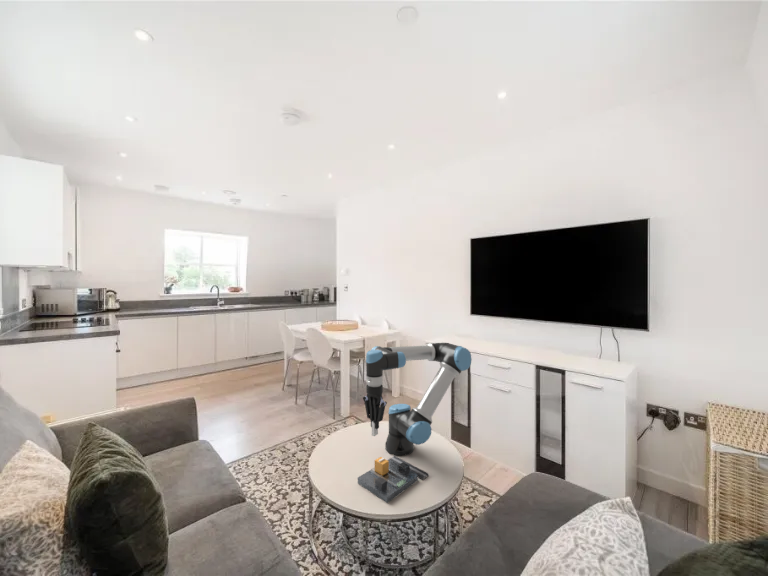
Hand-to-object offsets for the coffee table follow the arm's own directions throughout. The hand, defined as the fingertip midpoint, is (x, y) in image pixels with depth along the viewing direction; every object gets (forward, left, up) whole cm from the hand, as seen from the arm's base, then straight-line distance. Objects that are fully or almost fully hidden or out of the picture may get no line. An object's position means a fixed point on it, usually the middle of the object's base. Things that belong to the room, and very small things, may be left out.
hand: (374, 434), depth 147 cm
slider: (0, +5, -15) cm, 16 cm away
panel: (0, +9, -18) cm, 20 cm away
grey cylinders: (-14, +9, -18) cm, 24 cm away
